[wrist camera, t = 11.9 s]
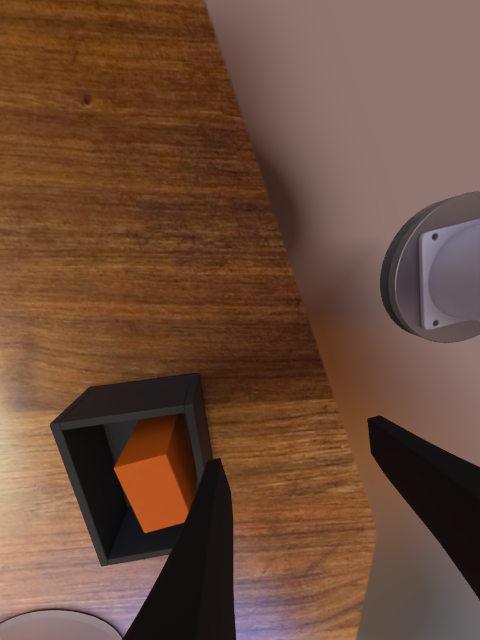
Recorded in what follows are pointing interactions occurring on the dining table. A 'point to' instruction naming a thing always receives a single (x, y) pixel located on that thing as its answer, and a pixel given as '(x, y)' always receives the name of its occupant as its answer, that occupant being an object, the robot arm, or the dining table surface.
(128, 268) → the dining table surface
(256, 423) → the dining table surface
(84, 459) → the open box
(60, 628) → the vase
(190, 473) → the block
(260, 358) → the dining table surface
